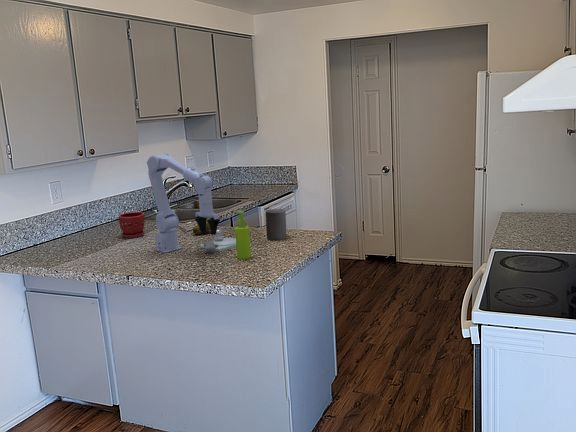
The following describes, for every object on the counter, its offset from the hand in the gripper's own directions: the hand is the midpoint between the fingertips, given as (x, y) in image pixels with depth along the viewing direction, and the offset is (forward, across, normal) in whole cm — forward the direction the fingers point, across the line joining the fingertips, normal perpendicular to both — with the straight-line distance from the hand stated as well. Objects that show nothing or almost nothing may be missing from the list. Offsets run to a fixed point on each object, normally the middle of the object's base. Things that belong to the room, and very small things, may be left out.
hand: (208, 233), depth 246 cm
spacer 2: (+7, -9, +12) cm, 17 cm away
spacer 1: (+9, 0, 0) cm, 9 cm away
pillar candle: (+9, +6, +35) cm, 37 cm away
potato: (+9, -36, +23) cm, 43 cm away
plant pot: (+9, -65, -2) cm, 65 cm away
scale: (+9, -5, +11) cm, 15 cm away
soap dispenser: (+9, +19, +3) cm, 22 cm away
